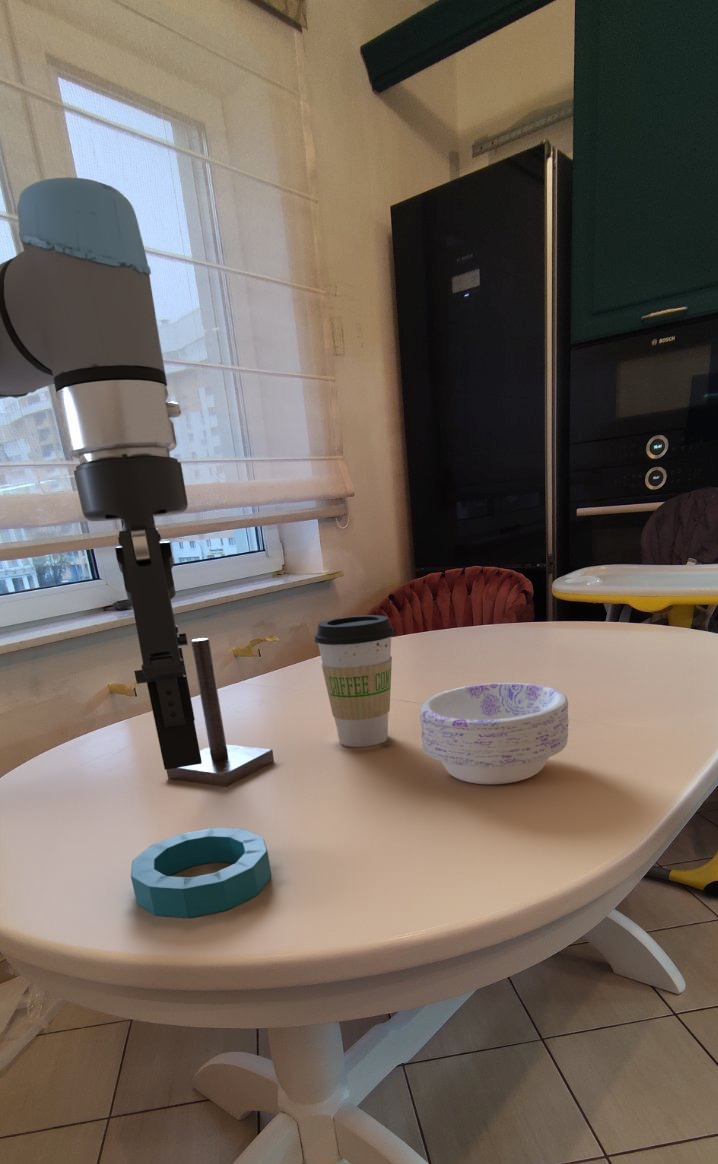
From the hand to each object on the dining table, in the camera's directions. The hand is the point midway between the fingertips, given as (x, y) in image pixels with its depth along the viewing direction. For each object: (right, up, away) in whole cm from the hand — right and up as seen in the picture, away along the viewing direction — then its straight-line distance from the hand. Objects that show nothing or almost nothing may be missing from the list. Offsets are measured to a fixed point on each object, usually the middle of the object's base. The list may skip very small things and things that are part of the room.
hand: (181, 741), depth 60 cm
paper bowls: (+29, -2, +19) cm, 35 cm away
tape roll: (+2, -12, 0) cm, 12 cm away
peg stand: (-2, -1, +27) cm, 27 cm away
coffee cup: (+15, +3, +33) cm, 37 cm away
